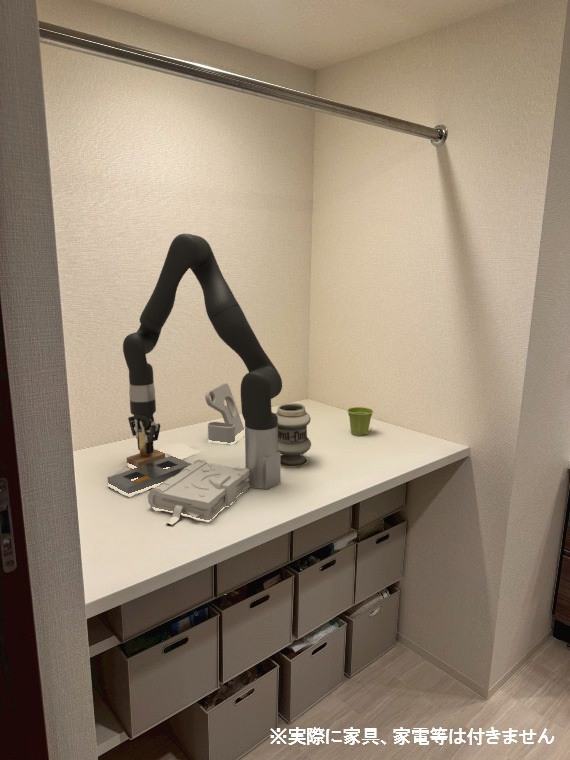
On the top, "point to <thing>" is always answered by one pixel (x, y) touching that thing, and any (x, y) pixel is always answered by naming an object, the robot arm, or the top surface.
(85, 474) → the top surface
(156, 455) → the block
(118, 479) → the grey peg board
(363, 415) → the plant pot
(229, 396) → the phone holder
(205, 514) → the book
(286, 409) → the apothecary jar
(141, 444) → the brass peg
